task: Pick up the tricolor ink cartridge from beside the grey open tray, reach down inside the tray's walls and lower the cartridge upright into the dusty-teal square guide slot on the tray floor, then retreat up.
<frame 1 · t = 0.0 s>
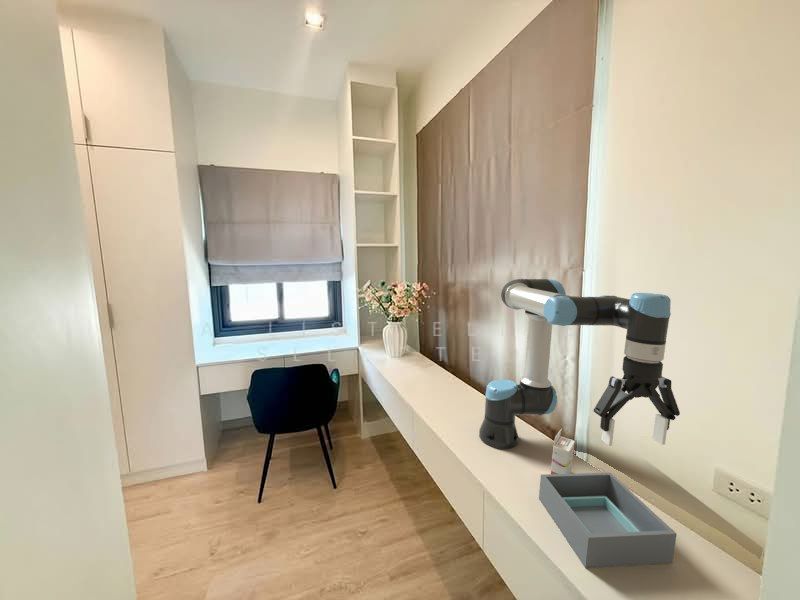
hand: (632, 442, 79), 28 cm above the table, tool pointing down, fingers open, 13 cm apart
grey open tray: (597, 527, 88), on the table
ink cartridge box: (561, 476, 109), on the table
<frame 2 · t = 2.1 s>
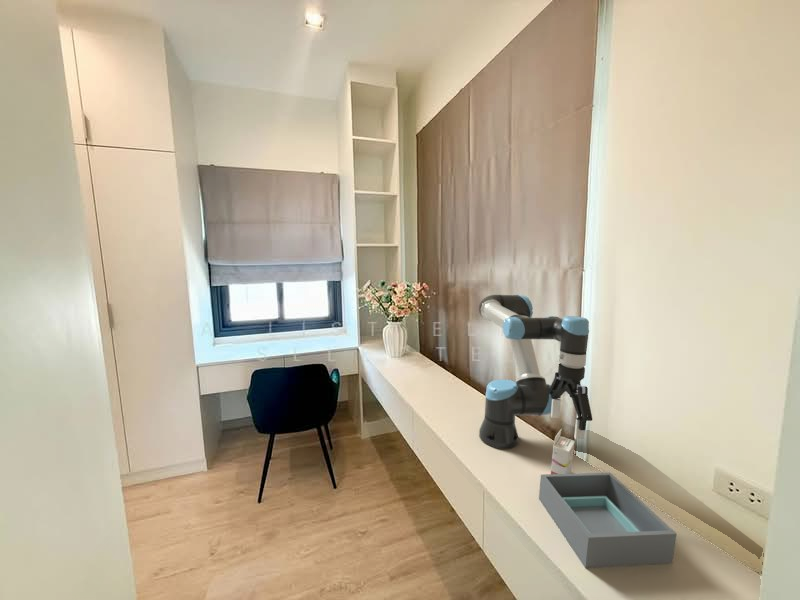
hand: (566, 427, 106), 18 cm above the table, tool pointing down, fingers open, 13 cm apart
nothing on the table moved.
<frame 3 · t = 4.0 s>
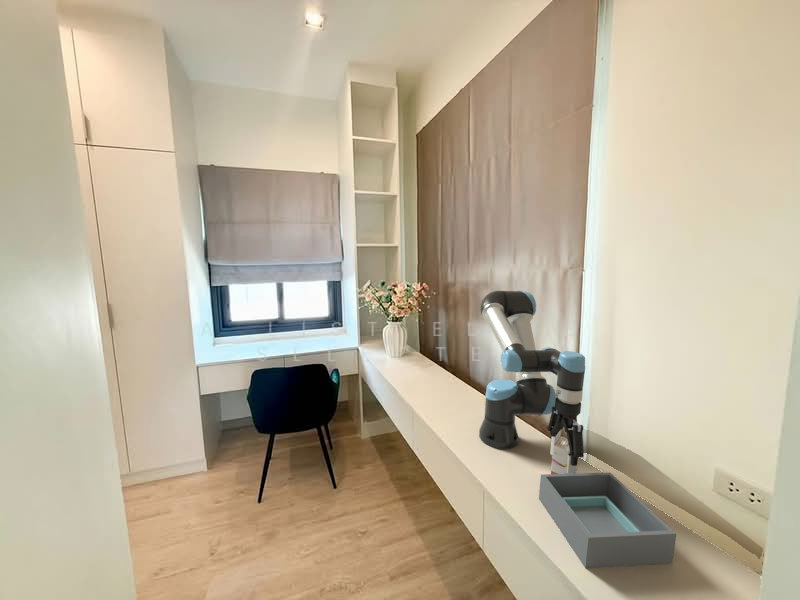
hand: (562, 463, 108), 5 cm above the table, tool pointing down, fingers closed on ink cartridge box, 9 cm apart
ink cartridge box: (561, 476, 109), on the table, touching gripper
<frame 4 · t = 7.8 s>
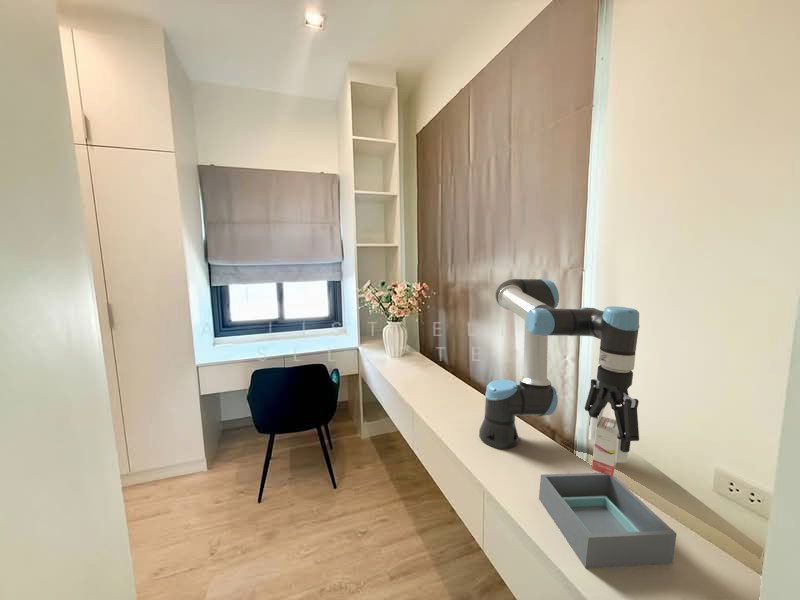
hand: (606, 449, 85), 23 cm above the table, tool pointing down, fingers closed on ink cartridge box, 9 cm apart
ink cartridge box: (604, 466, 85), point 18 cm above the table, touching gripper
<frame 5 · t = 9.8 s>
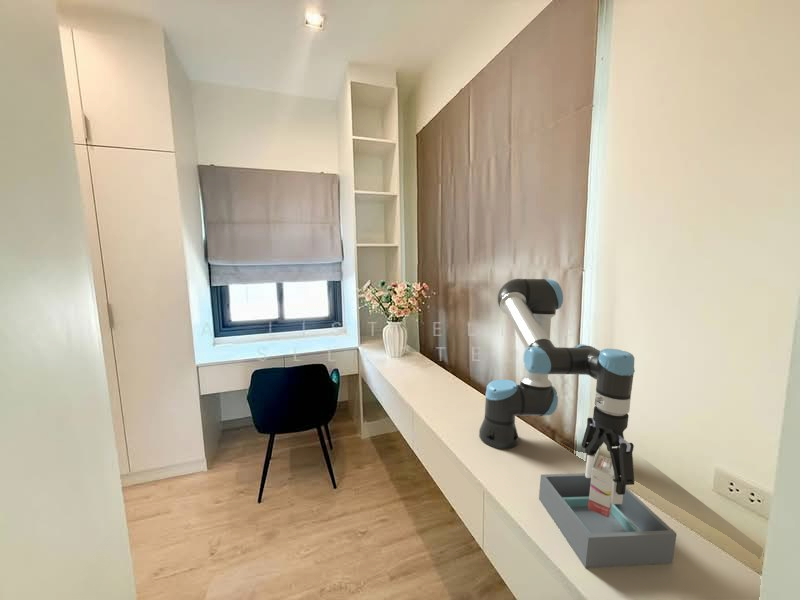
hand: (602, 489, 86), 11 cm above the table, tool pointing down, fingers closed on ink cartridge box, 9 cm apart
ink cartridge box: (600, 505, 87), point 7 cm above the table, touching gripper
when the fingers open (7 cm above the table, at t = 11.6 s): ink cartridge box drops 1 cm, resting on grey open tray.
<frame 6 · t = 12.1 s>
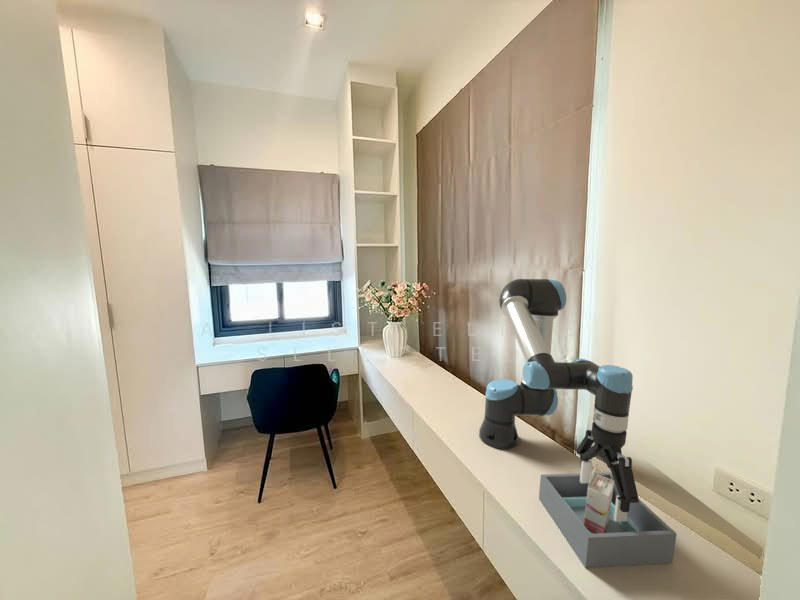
hand: (600, 500, 87), 8 cm above the table, tool pointing down, fingers open, 13 cm apart
ink cartridge box: (597, 523, 88), point 1 cm above the table, touching grey open tray
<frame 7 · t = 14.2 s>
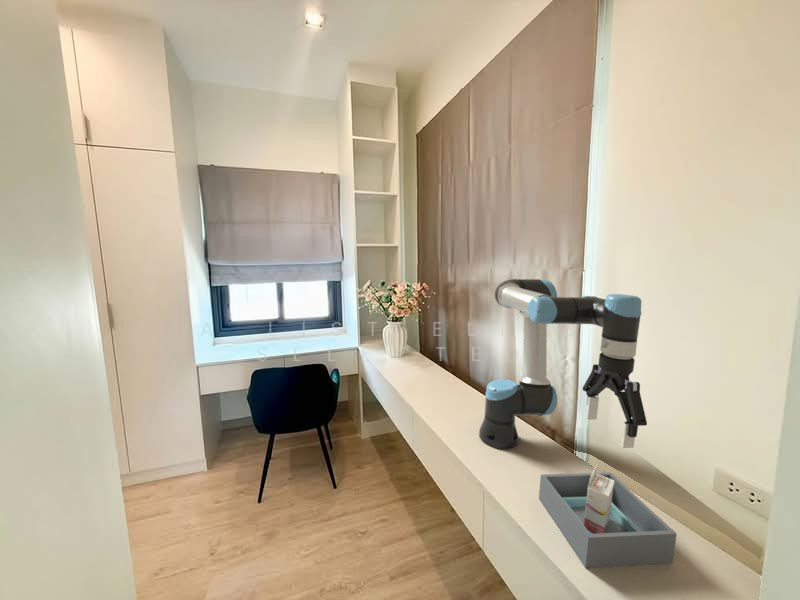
hand: (607, 431, 86), 27 cm above the table, tool pointing down, fingers open, 13 cm apart
nothing on the table moved.
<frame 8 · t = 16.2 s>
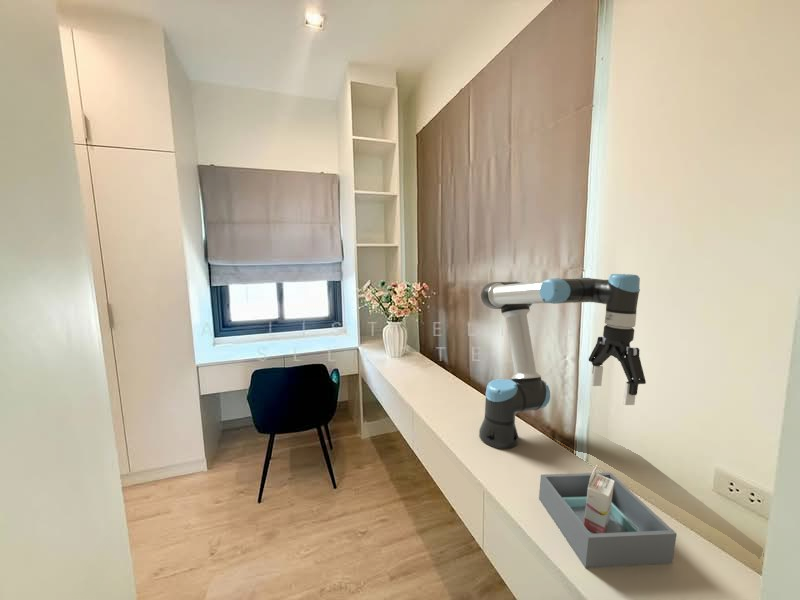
hand: (611, 394, 98), 32 cm above the table, tool pointing down, fingers open, 13 cm apart
nothing on the table moved.
at the end: ink cartridge box 0.3 cm off-centre on the grey open tray, point 0.8 cm above the grey open tray's base; ink cartridge box tilted 0°; the gripper is holding nothing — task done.
